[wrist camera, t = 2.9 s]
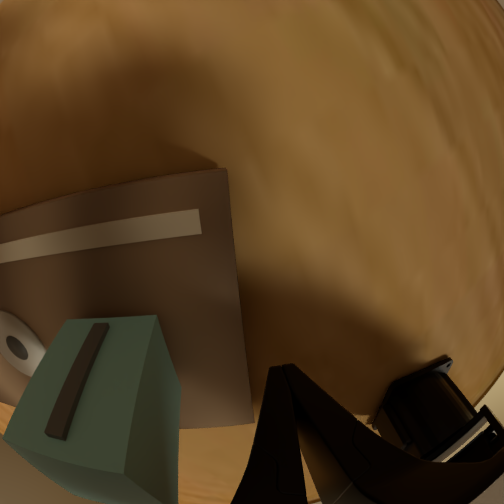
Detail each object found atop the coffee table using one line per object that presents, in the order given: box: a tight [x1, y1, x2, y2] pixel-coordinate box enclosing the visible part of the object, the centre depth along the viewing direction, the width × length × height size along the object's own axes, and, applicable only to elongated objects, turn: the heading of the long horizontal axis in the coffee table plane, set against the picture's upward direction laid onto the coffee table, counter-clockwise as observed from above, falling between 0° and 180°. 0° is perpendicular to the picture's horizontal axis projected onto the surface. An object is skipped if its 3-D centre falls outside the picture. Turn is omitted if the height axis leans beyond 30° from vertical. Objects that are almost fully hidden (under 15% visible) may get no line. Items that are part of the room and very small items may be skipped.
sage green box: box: [3, 315, 182, 504], centre depth 7 cm, size 4×4×6 cm
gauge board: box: [0, 168, 255, 429], centre depth 8 cm, size 24×13×5 cm, turn 93°
